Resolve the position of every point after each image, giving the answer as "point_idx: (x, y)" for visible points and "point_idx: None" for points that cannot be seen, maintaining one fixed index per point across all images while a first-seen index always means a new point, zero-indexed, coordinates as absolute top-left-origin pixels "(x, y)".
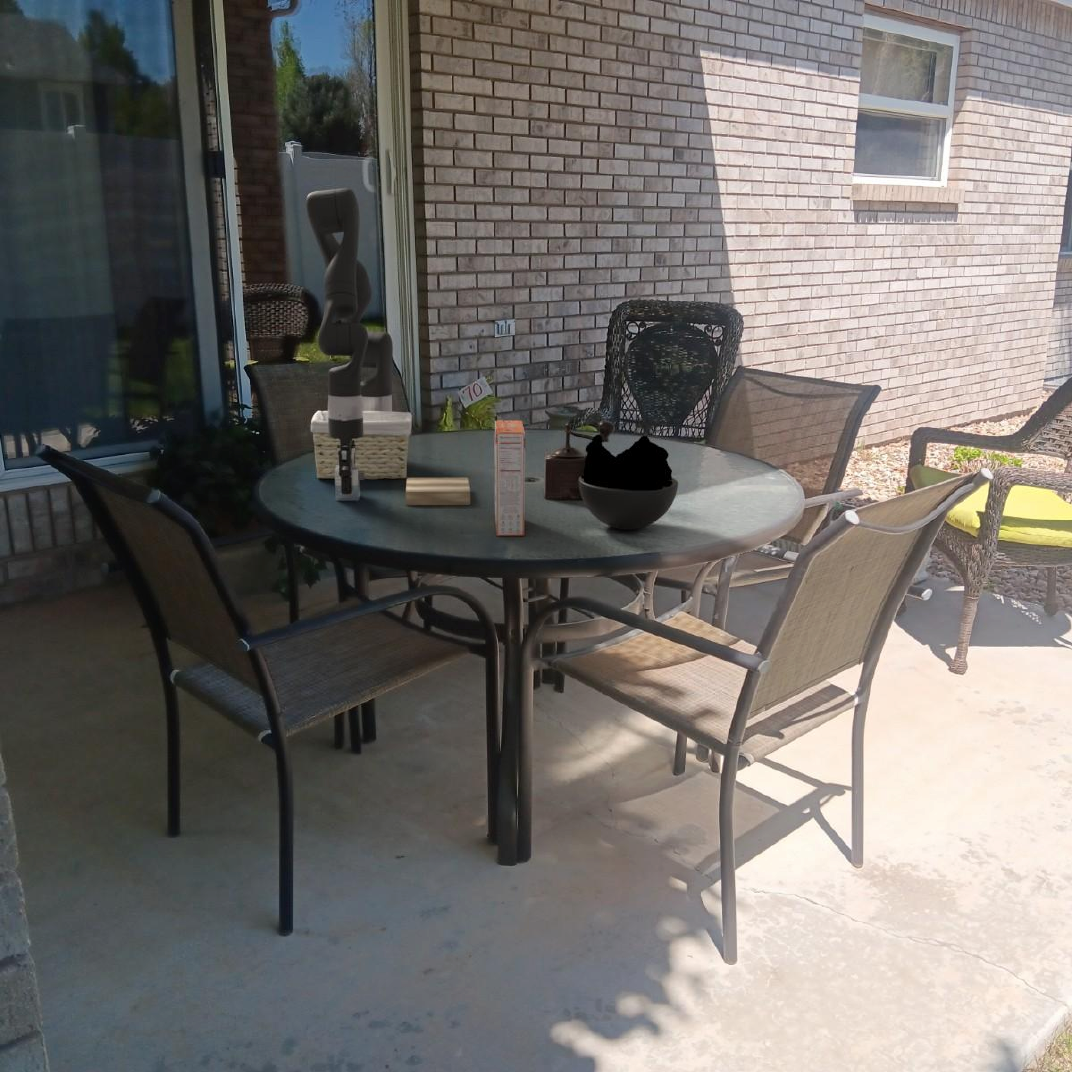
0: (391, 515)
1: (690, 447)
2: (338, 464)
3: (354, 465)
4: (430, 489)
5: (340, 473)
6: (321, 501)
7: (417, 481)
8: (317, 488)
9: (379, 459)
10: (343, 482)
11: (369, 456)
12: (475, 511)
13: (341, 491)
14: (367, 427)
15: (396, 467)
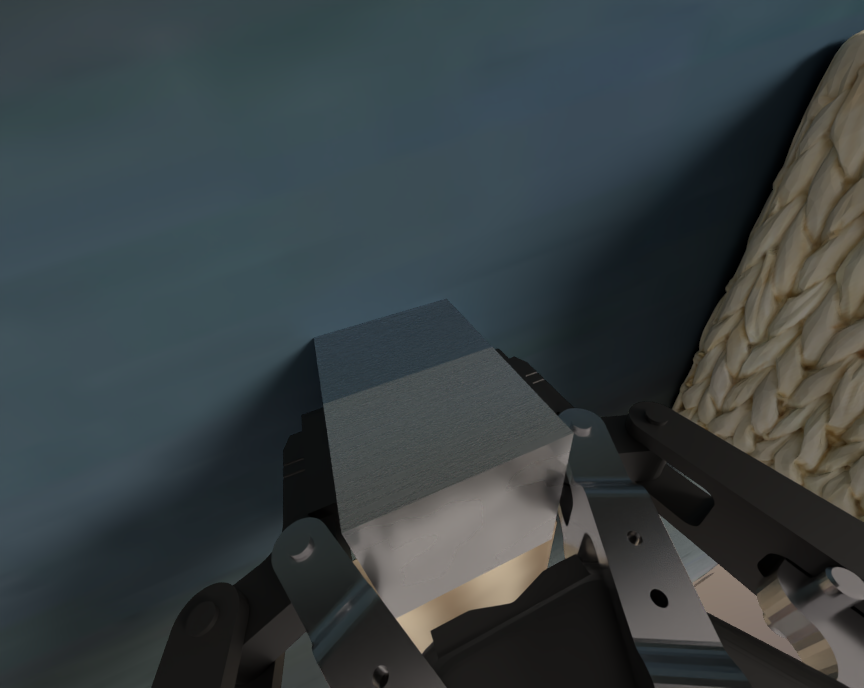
0: (125, 631)
1: (696, 576)
2: (322, 663)
3: (542, 529)
4: None
5: (174, 651)
6: (256, 258)
7: (500, 566)
8: (624, 105)
9: (781, 400)
10: (287, 503)
11: (821, 379)
12: (311, 676)
13: (303, 421)
14: None
15: (711, 426)
